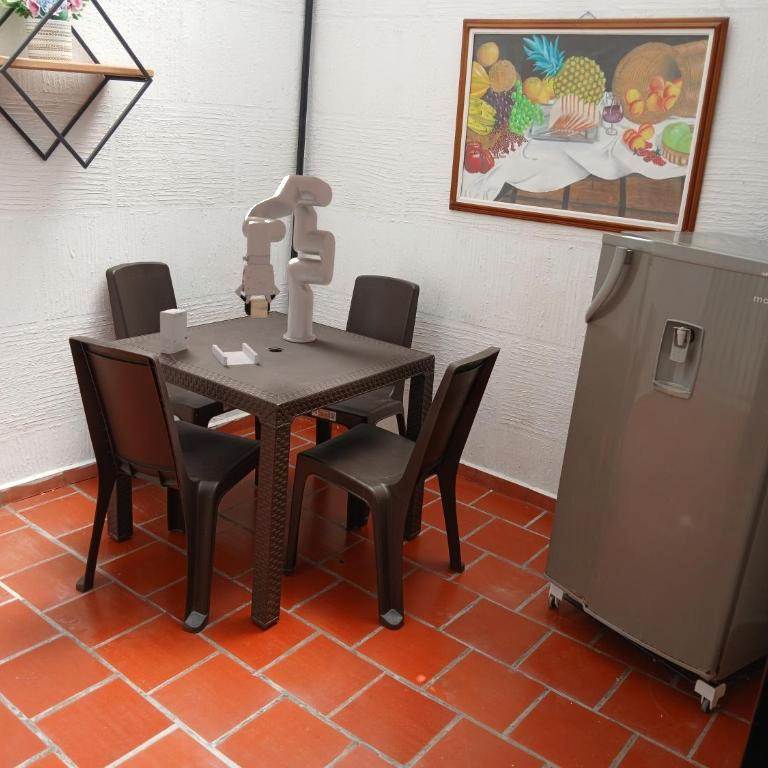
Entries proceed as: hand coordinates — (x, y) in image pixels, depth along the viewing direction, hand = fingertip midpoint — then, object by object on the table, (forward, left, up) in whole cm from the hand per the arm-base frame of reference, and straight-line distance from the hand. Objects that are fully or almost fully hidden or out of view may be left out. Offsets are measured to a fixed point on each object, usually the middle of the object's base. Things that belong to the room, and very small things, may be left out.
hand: (257, 313), depth 267 cm
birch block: (0, 0, -1) cm, 1 cm away
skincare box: (-26, -22, -20) cm, 39 cm away
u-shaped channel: (-11, -4, -19) cm, 23 cm away
